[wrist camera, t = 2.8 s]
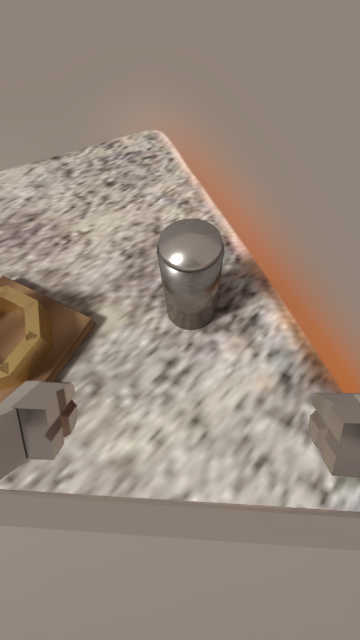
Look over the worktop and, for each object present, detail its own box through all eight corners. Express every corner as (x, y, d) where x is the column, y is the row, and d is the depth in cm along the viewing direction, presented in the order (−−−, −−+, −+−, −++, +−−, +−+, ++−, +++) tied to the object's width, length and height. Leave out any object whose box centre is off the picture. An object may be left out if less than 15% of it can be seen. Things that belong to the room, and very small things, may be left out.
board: (95, 323, 28) (91, 318, 27) (12, 436, 23) (4, 435, 22) (9, 281, 31) (2, 275, 29) (-79, 374, 26) (-91, 370, 25)
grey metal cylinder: (222, 298, 28) (236, 229, 20) (202, 337, 26) (207, 279, 18) (180, 281, 30) (176, 209, 21) (158, 317, 28) (143, 254, 19)
